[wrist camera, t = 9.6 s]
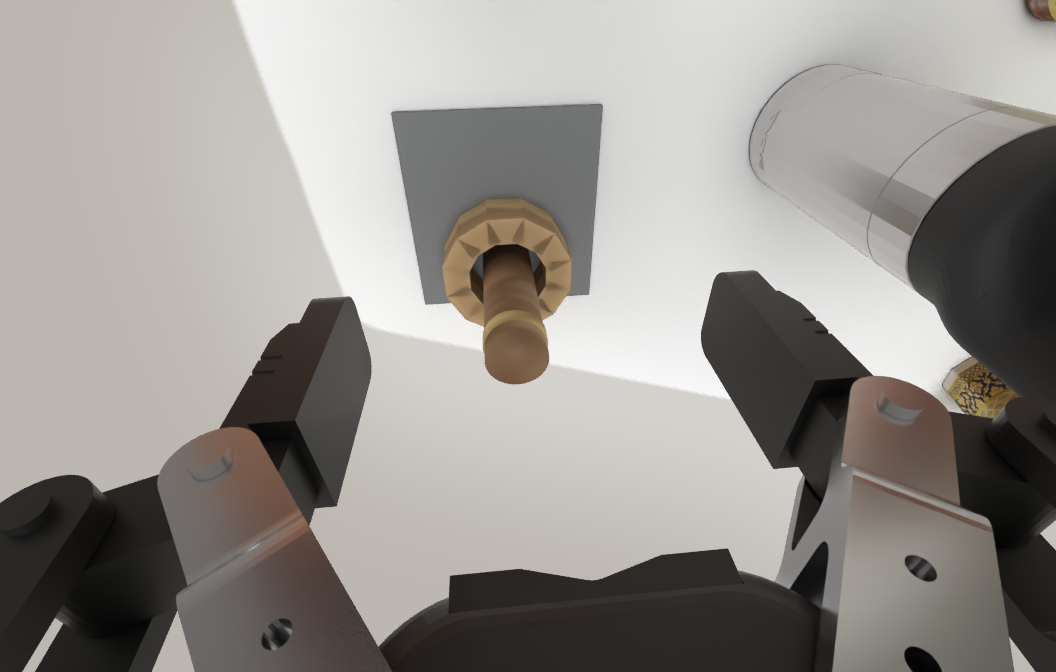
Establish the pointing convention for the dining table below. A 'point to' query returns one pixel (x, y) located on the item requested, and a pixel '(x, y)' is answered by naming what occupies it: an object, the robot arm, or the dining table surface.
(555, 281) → the tan faceted ring
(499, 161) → the mat
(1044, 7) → the sauce bottle
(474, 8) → the dining table surface
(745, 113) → the dining table surface
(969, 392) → the ceramic cup
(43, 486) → the robot arm
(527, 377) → the banded wooden cylinder
